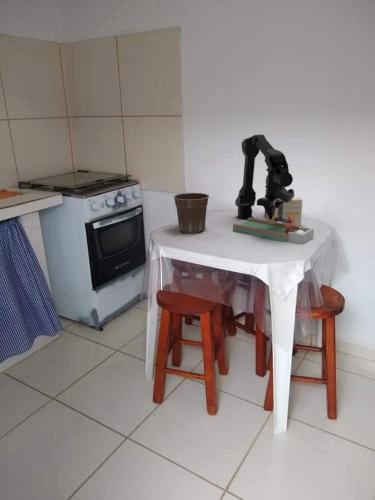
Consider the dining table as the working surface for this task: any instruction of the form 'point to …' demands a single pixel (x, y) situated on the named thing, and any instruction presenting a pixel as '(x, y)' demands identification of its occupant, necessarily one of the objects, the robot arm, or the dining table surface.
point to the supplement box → (293, 210)
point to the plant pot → (191, 211)
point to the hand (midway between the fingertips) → (272, 218)
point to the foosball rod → (289, 222)
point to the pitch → (273, 231)
